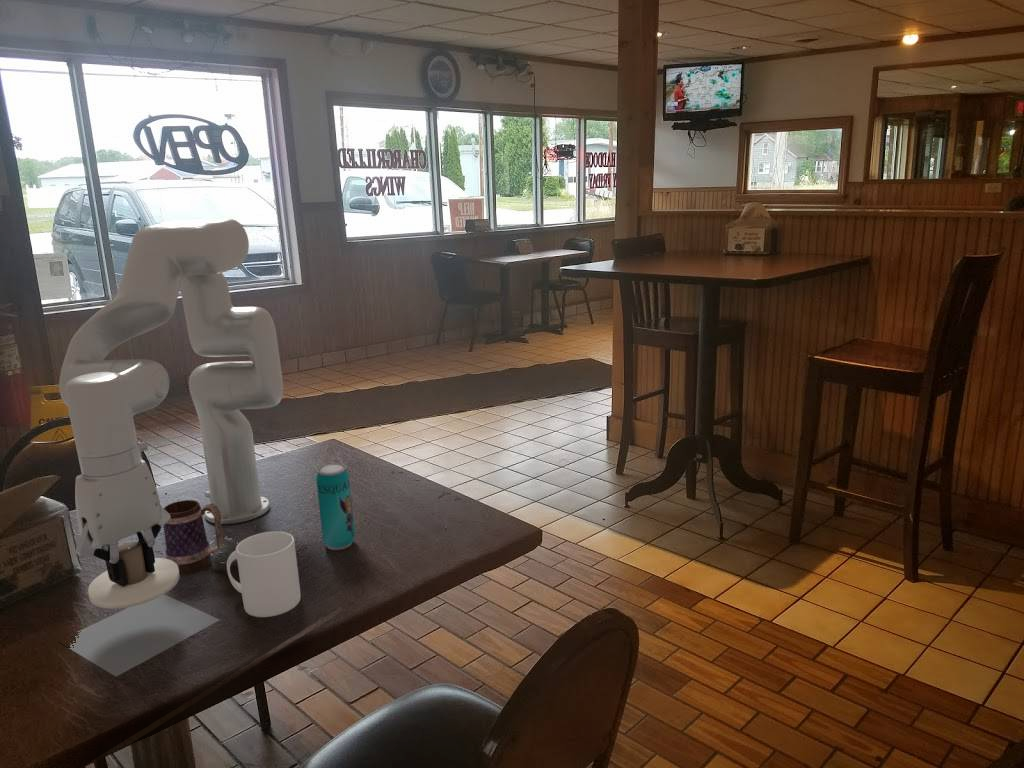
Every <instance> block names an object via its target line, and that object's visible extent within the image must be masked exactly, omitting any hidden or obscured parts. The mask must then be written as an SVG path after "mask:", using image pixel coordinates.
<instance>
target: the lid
mask: <svg viewBox="0 0 1024 768" xmlns="http://www.w3.org/2000/svg"><path fill="white" fill-rule="evenodd" d="M118 551H119V559H121V560H123V561H124V565H125V570H126V575H127V580H128V584H127V585H126V586H124V587H123V586H121V585H119V584H117V583H115V582H112V581H111V580H110V579H109V576H108V571H107V570H105V571H104V572H102V573H101V574H99V575H98V576H96V577H95V578H94V579H92V581H91V583H90V584H89V586H88V588H87V593H88V596H89V601H90V602H91V604H93V605H94V606H96V607H98V608H101V609H106V610H107V609H109V610H110V609H113V610H116V609H118V610H119V609H126V608H128V607H132V606H136V605H140V604H143V603H146V602H149V601H151V600H154V599H156V598H158V597H160V596H162V595H164V594H165V595H166V594H167V593H168V592H170V590H172V589H173V588H175V586H176V585H177V584H178V582H179V580H180V578H181V577H180V576H181V575H180V574H179V568H178V565H177V564H176V563H175V562H173V561H171V560H169V559H166V558H164V557H163V558H161V557H155V563H154V568H155V572H153V573H148V572H147V571H146V566H145V561H144V556H143V550H142V545H141V543H138V541H132V542H126V543H123V544H121V545H118Z"/></svg>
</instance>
